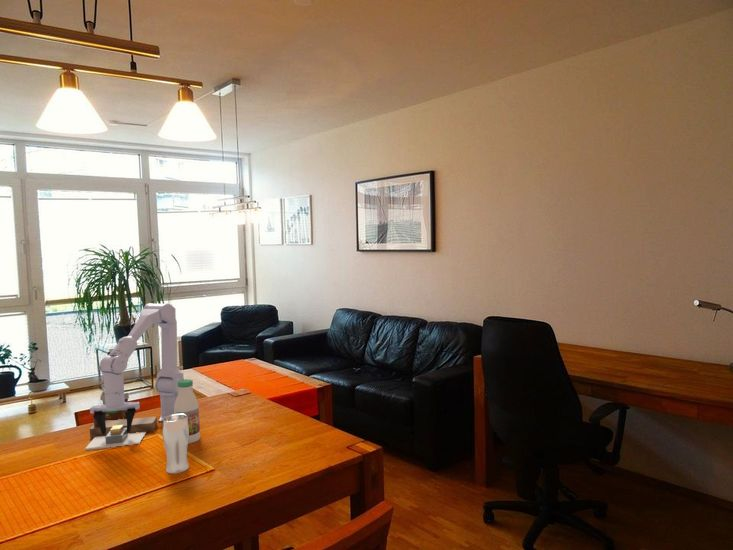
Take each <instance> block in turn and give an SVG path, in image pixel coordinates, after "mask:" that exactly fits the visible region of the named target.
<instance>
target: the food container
mask: <svg viewBox="0 0 733 550" xmlns="http://www.w3.org/2000/svg"><path fill="white" fill-rule="evenodd" d="M124 398H125V402H129V399H130V396H129V393H128V392H124ZM99 400H100V401H102V405H103V404H105V391H102V392H101V394H100V399H99ZM126 411H127V410H118V411H107V412H106V415H105V421H107V420H118V419H123V418H126V414H125V413H126Z"/></svg>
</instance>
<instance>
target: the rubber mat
mask: <svg viewBox="0 0 733 550" xmlns="http://www.w3.org/2000/svg"><path fill="white" fill-rule="evenodd" d="M145 434H146V435H147V432H139V433H129V434H128V435H127V437H126V438H125V440H124V441H123V443H114V444H106V440H105V437H106V436H99V437H93V439H92V440H91V441H90V442H89V443H88V445H87V446H86V447H85V448H84V451H89V450H100V449H110V447H111V448H117V447H116V446H121V447H126V446H125V445H130V446H134V445H133V444H141V443H142V441H143V440H142V439H144V438H145V436H146V435H145ZM143 437H144V438H143ZM141 440H142V441H141ZM140 442H141V443H140Z"/></svg>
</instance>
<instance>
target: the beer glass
mask: <svg viewBox="0 0 733 550" xmlns="http://www.w3.org/2000/svg"><path fill="white" fill-rule="evenodd" d="M162 439H163V445H164V449H165V453H166V469H165V472H166V473H167V474H170V475H171V474H172V475H174V474H175V475H176V474H181V473H184V472H186V471H187V470H188V469H189V467H190V464H189V461H188V445H189V444H188V440H189V425H188V416H187V415H186V414H173V415H169V416H166V417H164V418H163V421H162Z"/></svg>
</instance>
